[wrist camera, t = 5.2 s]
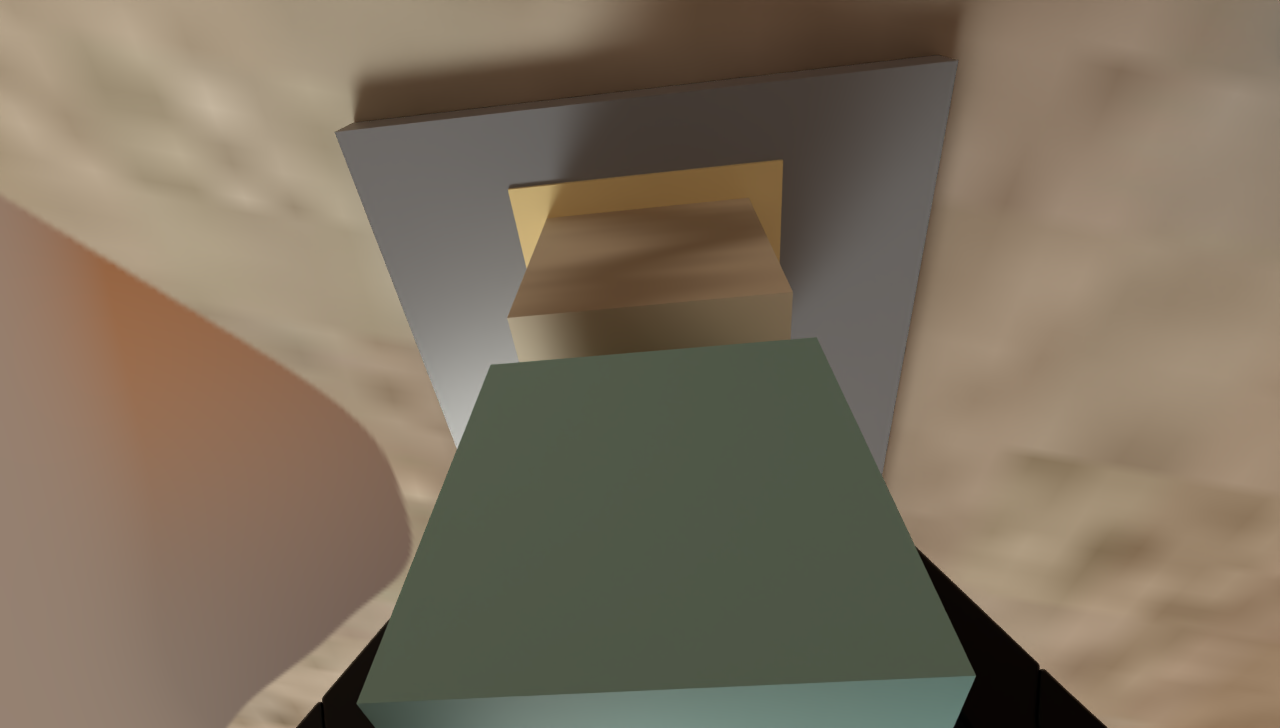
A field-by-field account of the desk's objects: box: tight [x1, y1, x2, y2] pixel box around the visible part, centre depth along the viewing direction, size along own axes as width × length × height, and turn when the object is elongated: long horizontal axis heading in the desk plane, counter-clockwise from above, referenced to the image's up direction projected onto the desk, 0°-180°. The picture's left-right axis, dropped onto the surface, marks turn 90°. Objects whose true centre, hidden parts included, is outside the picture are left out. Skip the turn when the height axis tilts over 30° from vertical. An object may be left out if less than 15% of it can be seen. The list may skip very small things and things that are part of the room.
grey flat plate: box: [335, 55, 958, 475], centre depth 19 cm, size 14×20×1 cm
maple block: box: [507, 198, 793, 362], centre depth 13 cm, size 5×5×5 cm
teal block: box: [357, 337, 976, 728], centre depth 8 cm, size 5×5×5 cm
